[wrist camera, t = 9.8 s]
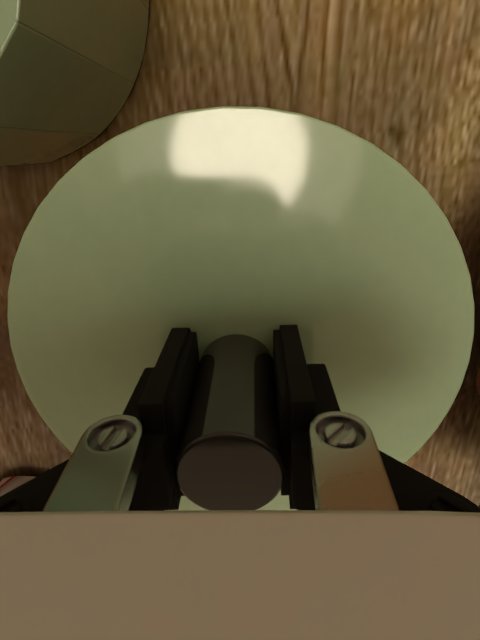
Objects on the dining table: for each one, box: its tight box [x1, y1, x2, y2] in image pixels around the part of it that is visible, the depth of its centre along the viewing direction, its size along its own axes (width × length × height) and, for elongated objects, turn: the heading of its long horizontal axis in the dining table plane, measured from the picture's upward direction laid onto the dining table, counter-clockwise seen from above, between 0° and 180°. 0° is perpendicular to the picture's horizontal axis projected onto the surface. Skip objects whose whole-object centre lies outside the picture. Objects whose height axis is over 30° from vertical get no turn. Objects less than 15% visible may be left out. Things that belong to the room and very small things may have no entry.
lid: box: [7, 106, 475, 511], centre depth 11 cm, size 15×15×6 cm
